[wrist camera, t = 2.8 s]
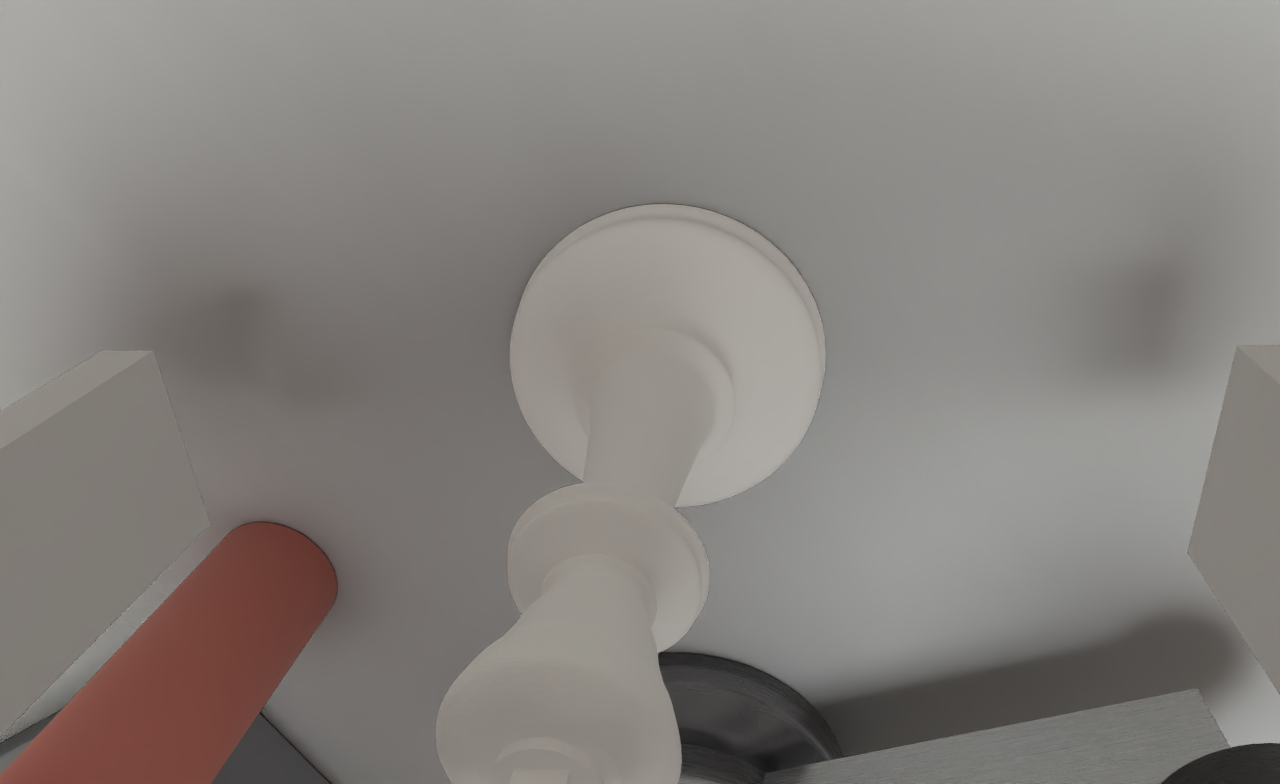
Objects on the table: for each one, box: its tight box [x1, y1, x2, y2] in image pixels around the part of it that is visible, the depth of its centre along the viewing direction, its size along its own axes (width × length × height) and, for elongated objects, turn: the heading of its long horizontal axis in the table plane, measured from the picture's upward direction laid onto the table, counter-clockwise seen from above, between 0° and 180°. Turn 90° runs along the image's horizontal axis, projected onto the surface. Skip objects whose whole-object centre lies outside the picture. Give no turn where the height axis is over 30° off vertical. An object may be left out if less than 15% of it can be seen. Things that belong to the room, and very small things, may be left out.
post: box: [0, 522, 337, 784], centre depth 14 cm, size 2×2×8 cm
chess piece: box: [436, 204, 826, 784], centre depth 10 cm, size 5×5×10 cm
